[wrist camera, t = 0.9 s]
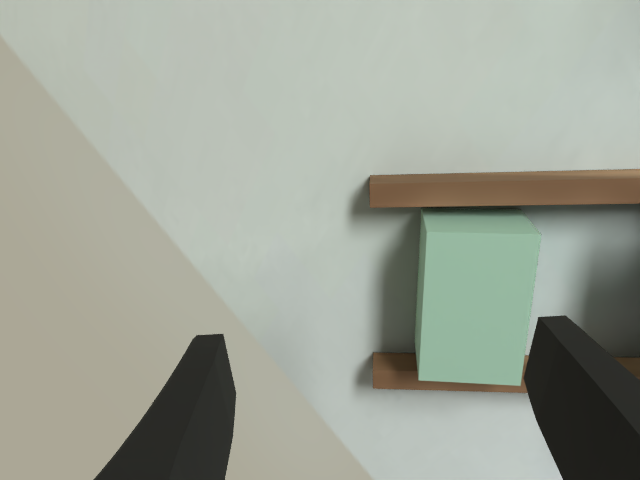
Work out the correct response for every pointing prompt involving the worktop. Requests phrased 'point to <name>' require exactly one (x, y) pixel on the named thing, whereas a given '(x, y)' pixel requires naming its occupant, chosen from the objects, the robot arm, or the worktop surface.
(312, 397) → the worktop surface
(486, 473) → the worktop surface
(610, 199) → the guide bay
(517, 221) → the sage block
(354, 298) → the worktop surface
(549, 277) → the worktop surface
